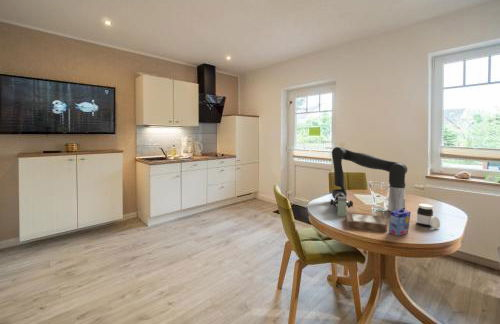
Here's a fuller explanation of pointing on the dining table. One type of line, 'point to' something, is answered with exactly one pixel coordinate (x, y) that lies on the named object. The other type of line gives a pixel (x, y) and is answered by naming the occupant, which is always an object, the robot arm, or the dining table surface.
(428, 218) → the spread jar
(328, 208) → the dining table surface
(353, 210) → the dining table surface
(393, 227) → the ink cartridge box
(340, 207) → the block
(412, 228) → the dining table surface
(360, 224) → the dock
